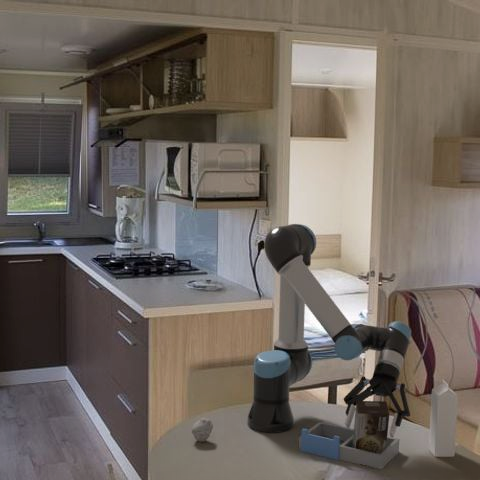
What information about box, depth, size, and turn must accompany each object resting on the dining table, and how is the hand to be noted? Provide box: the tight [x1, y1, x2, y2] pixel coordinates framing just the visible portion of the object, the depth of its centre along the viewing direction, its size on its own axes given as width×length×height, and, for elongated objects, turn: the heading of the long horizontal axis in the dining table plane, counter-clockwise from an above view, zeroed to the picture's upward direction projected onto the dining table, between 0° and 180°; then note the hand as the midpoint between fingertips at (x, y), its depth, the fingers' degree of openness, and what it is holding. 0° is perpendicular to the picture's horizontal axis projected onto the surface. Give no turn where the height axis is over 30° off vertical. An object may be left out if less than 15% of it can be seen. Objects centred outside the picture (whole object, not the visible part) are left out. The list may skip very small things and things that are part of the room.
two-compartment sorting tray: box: [298, 421, 401, 470], centre depth 224 cm, size 26×16×7 cm, turn 59°
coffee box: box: [353, 400, 390, 454], centre depth 218 cm, size 9×6×16 cm
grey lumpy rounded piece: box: [191, 417, 214, 443], centre depth 229 cm, size 6×7×7 cm
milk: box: [428, 379, 459, 458], centre depth 223 cm, size 6×6×22 cm
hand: (368, 430), depth 218 cm, fingers open, 13 cm apart
